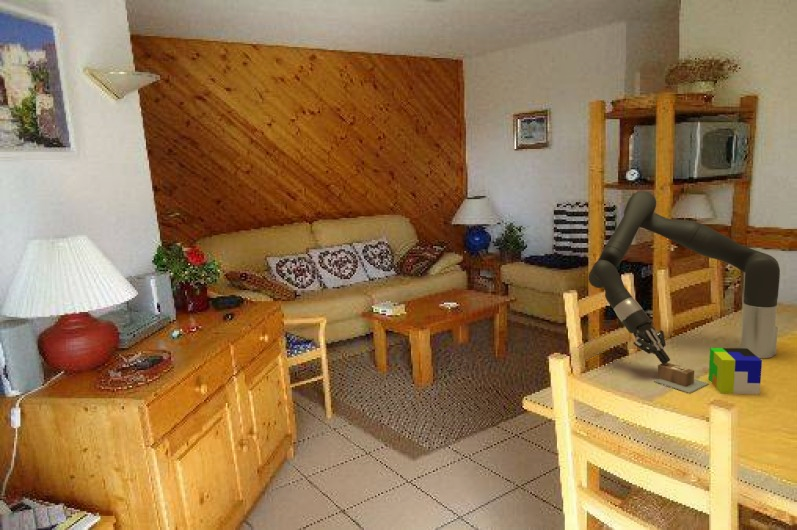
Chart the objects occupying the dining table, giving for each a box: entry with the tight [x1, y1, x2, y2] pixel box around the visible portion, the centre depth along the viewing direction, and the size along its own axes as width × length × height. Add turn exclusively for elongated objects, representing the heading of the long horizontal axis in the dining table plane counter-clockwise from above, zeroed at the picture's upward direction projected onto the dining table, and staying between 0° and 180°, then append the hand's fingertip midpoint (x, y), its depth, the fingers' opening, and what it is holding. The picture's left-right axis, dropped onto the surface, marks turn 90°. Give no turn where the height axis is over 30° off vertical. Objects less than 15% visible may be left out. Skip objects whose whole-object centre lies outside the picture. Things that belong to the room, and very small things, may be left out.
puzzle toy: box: [708, 347, 763, 395], centre depth 161 cm, size 10×10×10 cm
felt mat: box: [653, 378, 710, 394], centre depth 166 cm, size 10×11×1 cm
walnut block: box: [657, 362, 695, 387], centre depth 167 cm, size 4×4×9 cm
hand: (666, 362), depth 169 cm, fingers closed
